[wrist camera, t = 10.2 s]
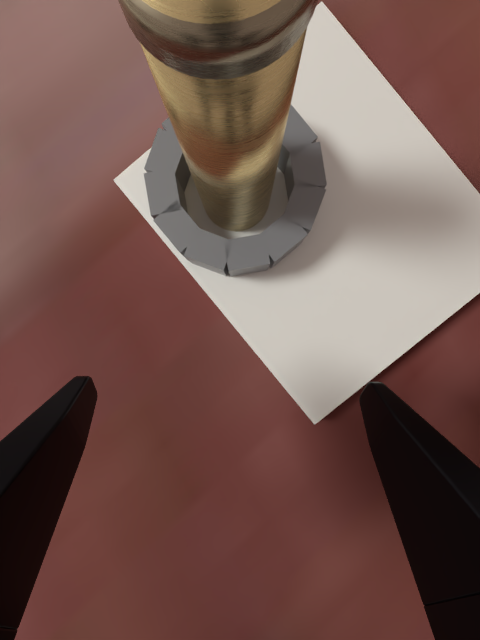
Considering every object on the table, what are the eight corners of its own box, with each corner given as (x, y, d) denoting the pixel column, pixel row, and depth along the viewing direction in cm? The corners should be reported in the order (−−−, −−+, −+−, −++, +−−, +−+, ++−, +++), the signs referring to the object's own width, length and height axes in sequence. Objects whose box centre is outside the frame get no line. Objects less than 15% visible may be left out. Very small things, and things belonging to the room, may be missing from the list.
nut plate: (509, 257, 17) (572, 244, 14) (310, 417, 18) (325, 441, 14) (316, 22, 17) (333, -49, 14) (122, 188, 18) (93, 159, 14)
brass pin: (284, 185, 16) (392, -166, 4) (247, 246, 17) (254, 66, 5) (224, 148, 16) (167, -300, 4) (187, 209, 17) (35, -67, 5)
